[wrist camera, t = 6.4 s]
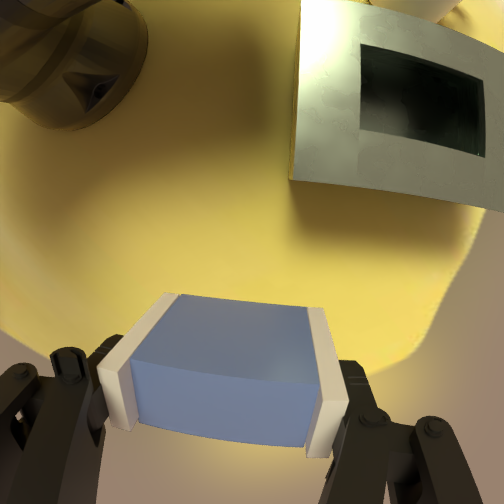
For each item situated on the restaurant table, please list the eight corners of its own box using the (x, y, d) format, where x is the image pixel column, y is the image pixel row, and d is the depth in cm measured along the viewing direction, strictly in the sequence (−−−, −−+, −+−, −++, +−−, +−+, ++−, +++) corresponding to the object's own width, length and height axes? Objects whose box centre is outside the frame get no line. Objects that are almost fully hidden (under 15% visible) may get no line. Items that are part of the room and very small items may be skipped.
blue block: (182, 346, 15) (139, 422, 10) (181, 294, 15) (127, 358, 9) (298, 360, 15) (303, 447, 9) (307, 307, 14) (320, 384, 9)
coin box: (288, 179, 25) (292, 179, 16) (295, 46, 22) (301, -6, 14) (456, 202, 24) (514, 215, 15) (458, 81, 21) (511, 57, 12)
